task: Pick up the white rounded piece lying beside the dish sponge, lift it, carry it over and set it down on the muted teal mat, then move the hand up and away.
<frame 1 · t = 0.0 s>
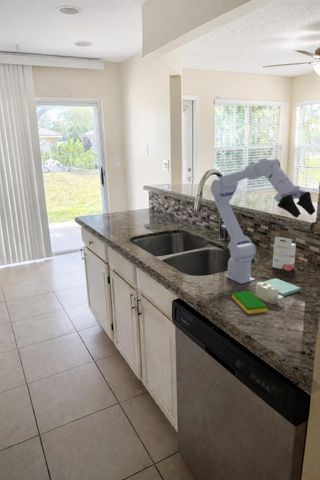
hand: (305, 214, 115), 32 cm above the worktop, tool tilted 50°, fingers open, 7 cm apart
dish sponge: (248, 305, 124), on the worktop
white rounded piece: (266, 298, 128), on the worktop
teal mat: (278, 288, 137), on the worktop
ink cartridge box: (283, 268, 159), on the worktop
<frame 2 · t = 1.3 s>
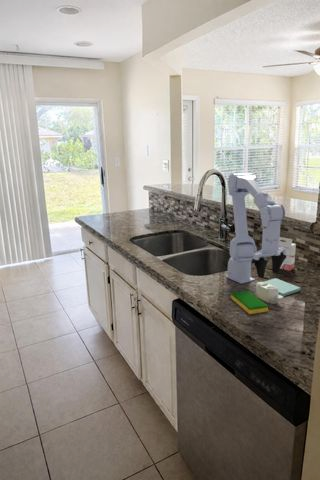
hand: (268, 275, 125), 9 cm above the worktop, tool pointing down, fingers open, 7 cm apart
nothing on the worktop moved.
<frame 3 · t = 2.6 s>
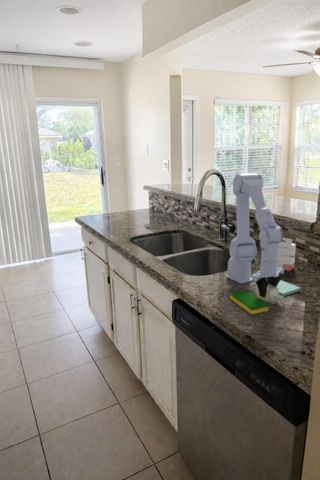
hand: (266, 295, 127), 1 cm above the worktop, tool pointing down, fingers closed on white rounded piece, 4 cm apart
white rounded piece: (266, 298, 128), on the worktop, touching gripper
everything else where it was.
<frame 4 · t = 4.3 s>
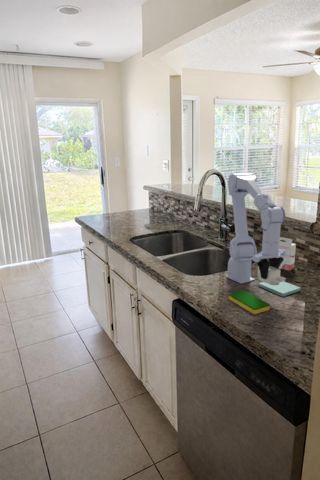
hand: (268, 277, 126), 8 cm above the worktop, tool pointing down, fingers closed on white rounded piece, 4 cm apart
white rounded piece: (268, 280, 126), point 7 cm above the worktop, touching gripper
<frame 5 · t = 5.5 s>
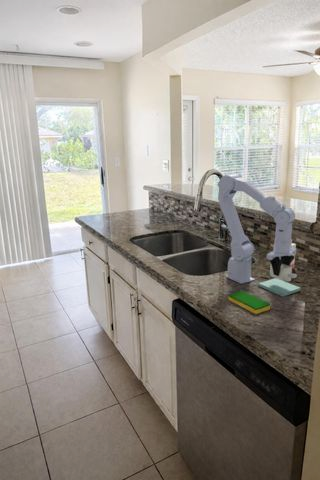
hand: (280, 273, 135), 6 cm above the worktop, tool pointing down, fingers closed on white rounded piece, 4 cm apart
white rounded piece: (280, 277, 135), point 5 cm above the worktop, touching gripper
when the fingers open (4 cm above the worktop, at t = 6.3 s): white rounded piece drops 1 cm, resting on teal mat.
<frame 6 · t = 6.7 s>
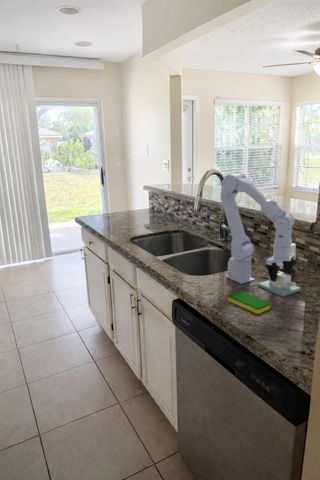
hand: (279, 279, 136), 4 cm above the worktop, tool pointing down, fingers open, 7 cm apart
white rounded piece: (279, 285, 136), point 1 cm above the worktop, touching teal mat
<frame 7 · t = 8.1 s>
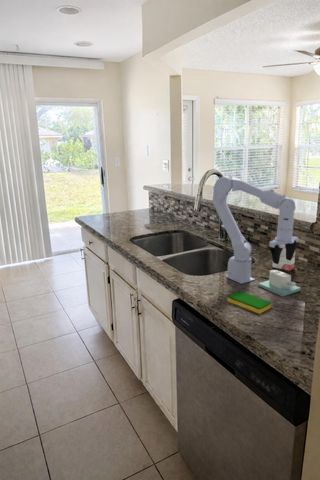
hand: (282, 261, 139), 9 cm above the worktop, tool pointing down, fingers open, 7 cm apart
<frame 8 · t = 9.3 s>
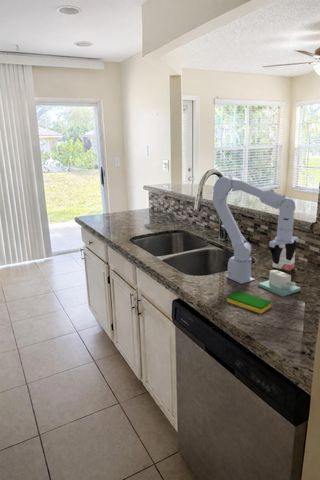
hand: (282, 261, 139), 9 cm above the worktop, tool pointing down, fingers open, 7 cm apart
at the end: white rounded piece inside the target area on the teal mat (0.1 cm from its centre), point 1.2 cm above the teal mat's base; white rounded piece tilted 0°; the gripper is holding nothing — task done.
